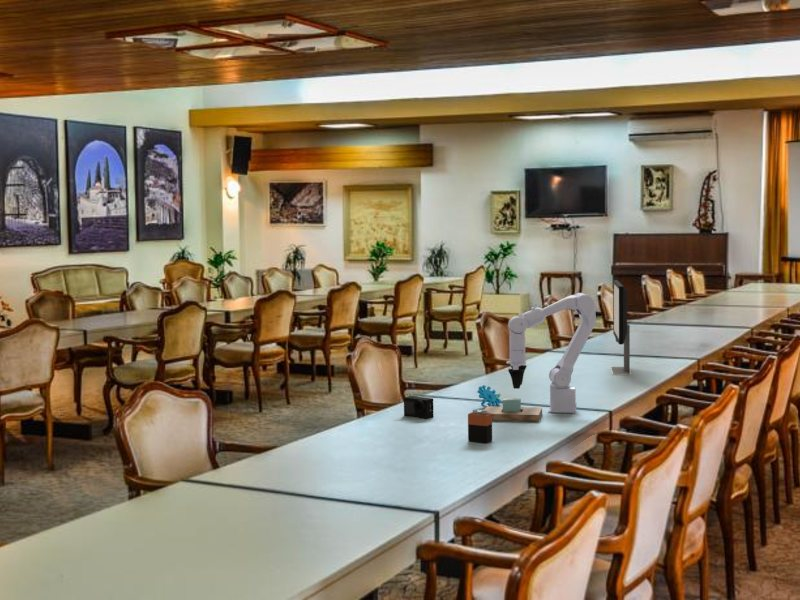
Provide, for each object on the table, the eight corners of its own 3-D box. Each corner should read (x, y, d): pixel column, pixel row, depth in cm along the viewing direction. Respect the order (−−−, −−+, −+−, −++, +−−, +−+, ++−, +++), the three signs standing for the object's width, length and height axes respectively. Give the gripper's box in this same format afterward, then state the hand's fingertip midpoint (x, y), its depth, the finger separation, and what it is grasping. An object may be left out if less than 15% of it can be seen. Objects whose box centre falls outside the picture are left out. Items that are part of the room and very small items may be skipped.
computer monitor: (608, 364, 497) (608, 280, 493) (626, 364, 496) (626, 279, 492) (613, 378, 456) (613, 286, 453) (633, 378, 455) (633, 286, 452)
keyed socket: (542, 414, 379) (542, 407, 379) (538, 422, 366) (538, 414, 366) (486, 413, 384) (486, 406, 384) (481, 420, 370) (481, 413, 370)
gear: (486, 404, 391) (475, 383, 397) (477, 414, 394) (466, 393, 400) (507, 405, 398) (496, 384, 403) (499, 414, 401) (487, 393, 407)
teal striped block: (520, 415, 376) (520, 398, 376) (519, 417, 372) (519, 400, 372) (504, 414, 377) (503, 397, 377) (502, 416, 373) (502, 399, 373)
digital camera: (401, 416, 380) (401, 397, 380) (410, 414, 385) (410, 395, 384) (424, 419, 374) (423, 400, 373) (433, 417, 378) (433, 398, 377)
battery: (486, 443, 333) (486, 412, 333) (467, 441, 337) (467, 410, 336) (492, 441, 337) (492, 410, 336) (474, 439, 341) (473, 408, 340)
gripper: (508, 346, 390) (508, 383, 391) (504, 352, 376) (504, 389, 377) (527, 347, 389) (527, 383, 390) (523, 352, 375) (524, 390, 376)
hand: (517, 386), depth 384 cm, fingers open, 7 cm apart
